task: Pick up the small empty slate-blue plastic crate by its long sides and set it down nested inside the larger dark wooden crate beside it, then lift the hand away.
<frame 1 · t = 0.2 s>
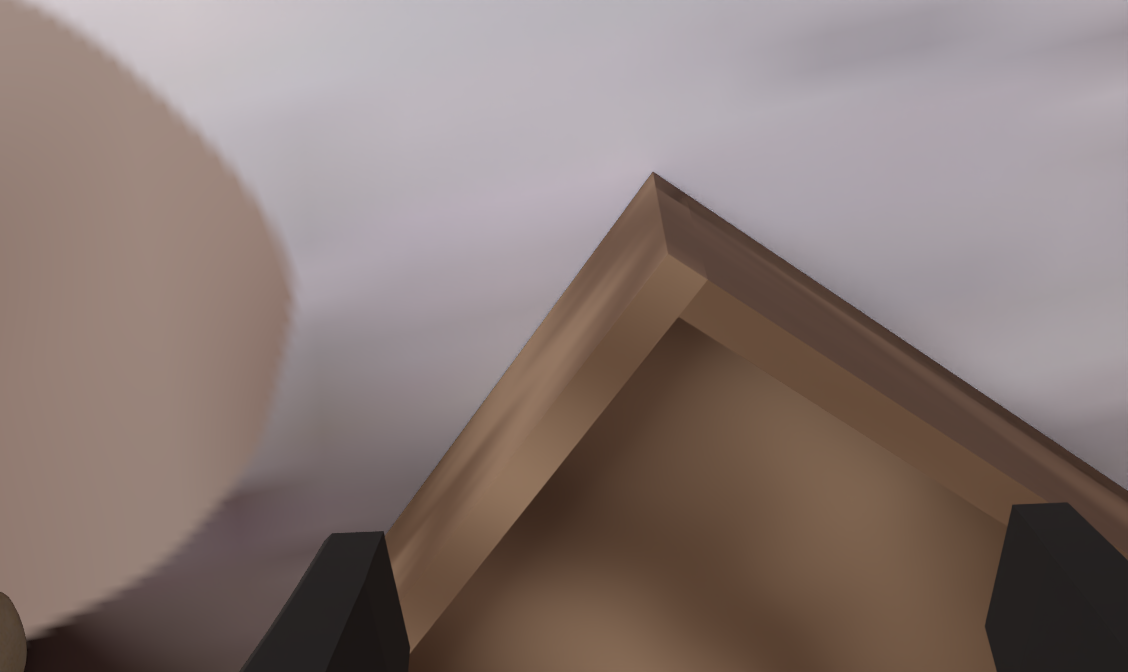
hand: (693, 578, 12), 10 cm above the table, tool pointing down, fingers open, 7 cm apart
big crate: (709, 603, 26), on the table
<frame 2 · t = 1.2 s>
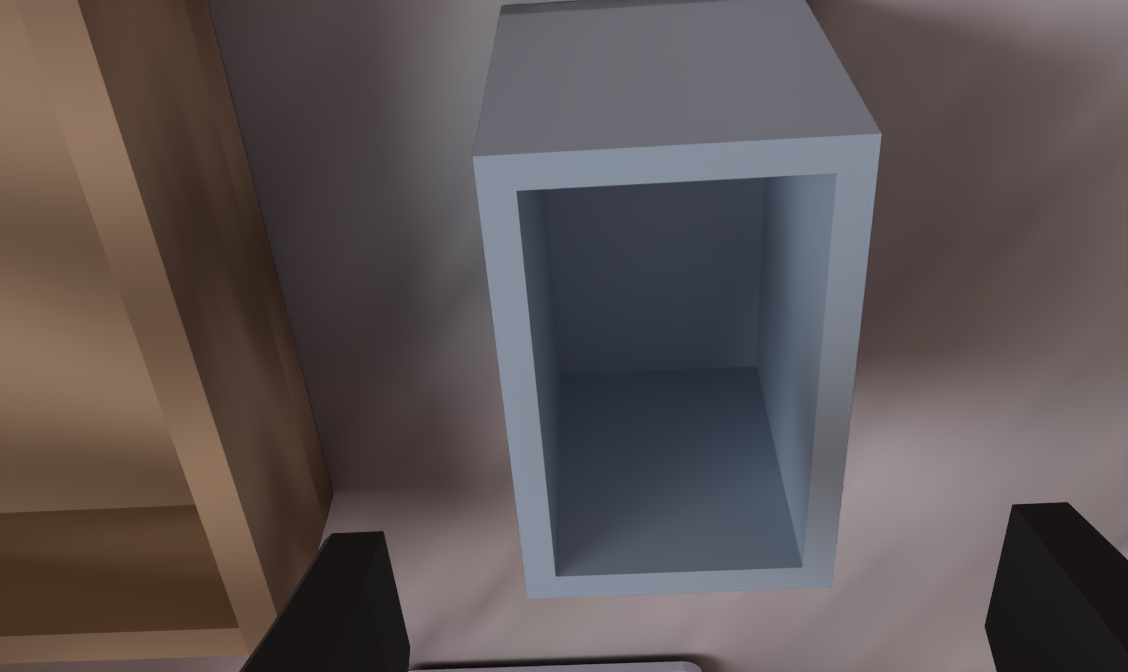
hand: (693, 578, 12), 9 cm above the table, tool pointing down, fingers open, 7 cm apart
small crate: (653, 207, 20), on the table
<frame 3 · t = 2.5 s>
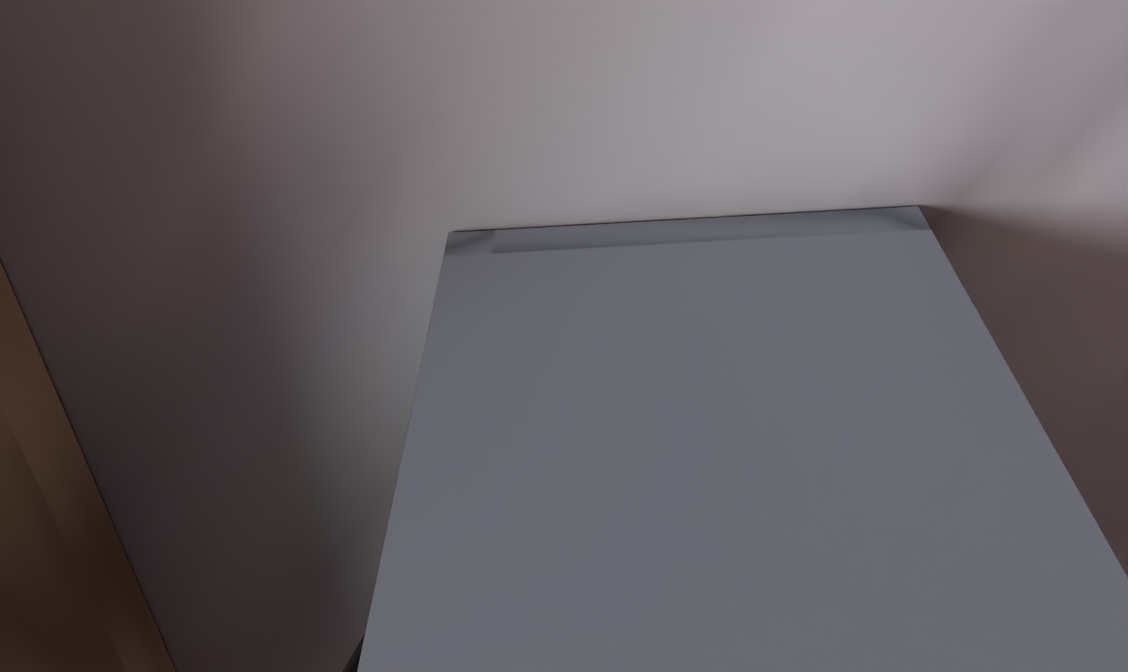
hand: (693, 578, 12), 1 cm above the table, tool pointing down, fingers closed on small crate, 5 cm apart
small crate: (683, 495, 14), on the table, touching gripper
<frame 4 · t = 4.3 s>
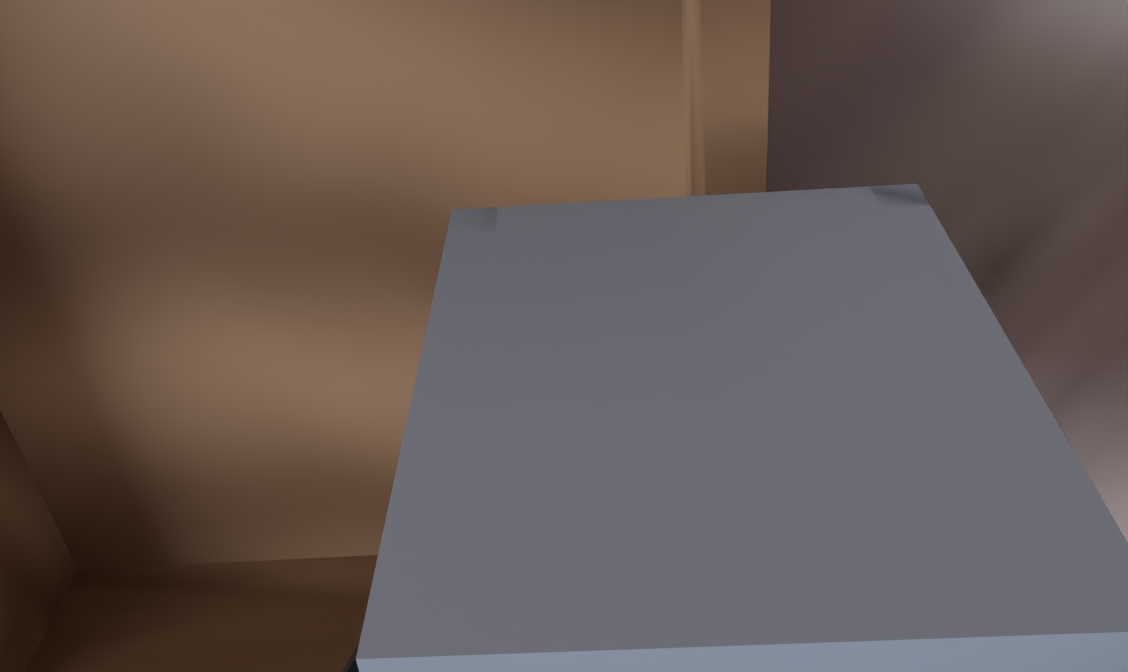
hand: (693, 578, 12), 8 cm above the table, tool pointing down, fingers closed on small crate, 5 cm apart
big crate: (318, 238, 20), on the table
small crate: (684, 475, 14), point 7 cm above the table, touching gripper
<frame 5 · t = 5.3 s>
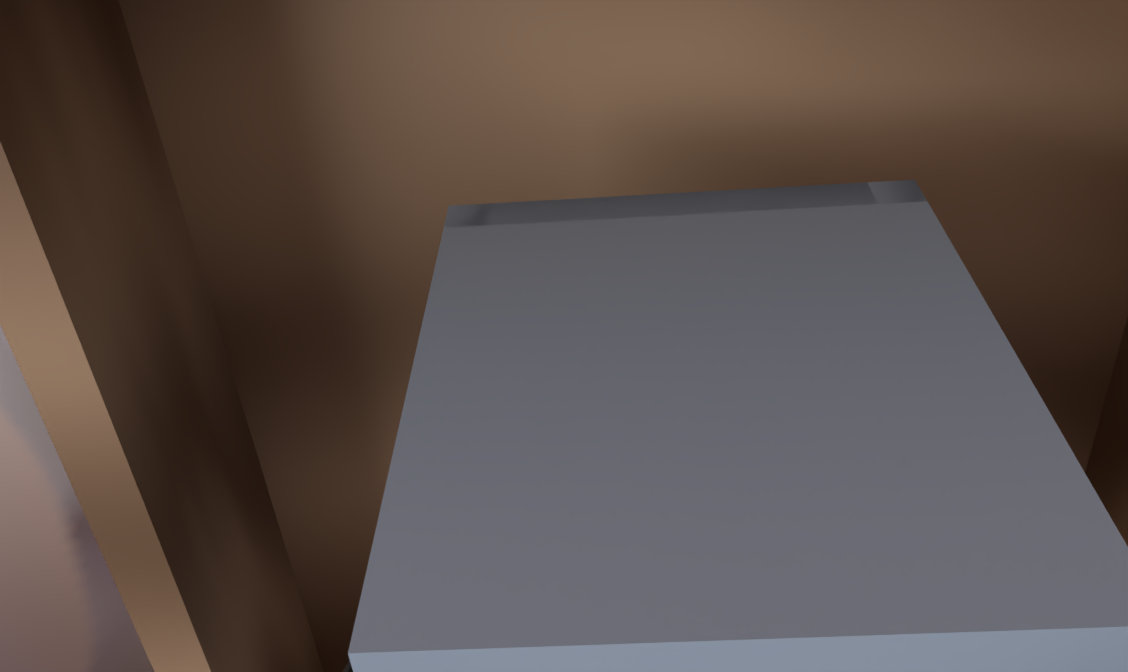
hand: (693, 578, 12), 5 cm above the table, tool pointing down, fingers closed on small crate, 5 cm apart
big crate: (664, 324, 17), on the table
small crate: (681, 472, 14), point 4 cm above the table, touching gripper
when the fingers open (3 cm above the table, at t = 6.2 s): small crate stays where it is, resting on big crate.
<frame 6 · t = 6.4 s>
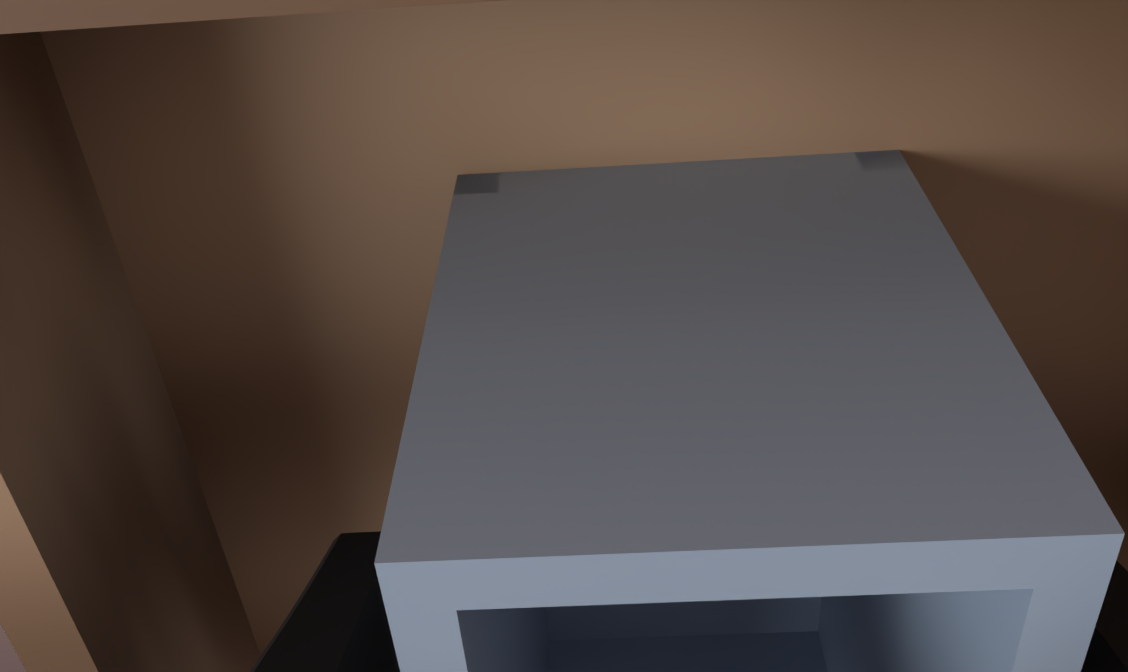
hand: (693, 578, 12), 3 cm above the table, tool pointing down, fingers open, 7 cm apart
big crate: (672, 399, 15), on the table
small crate: (678, 433, 14), point 1 cm above the table, touching big crate
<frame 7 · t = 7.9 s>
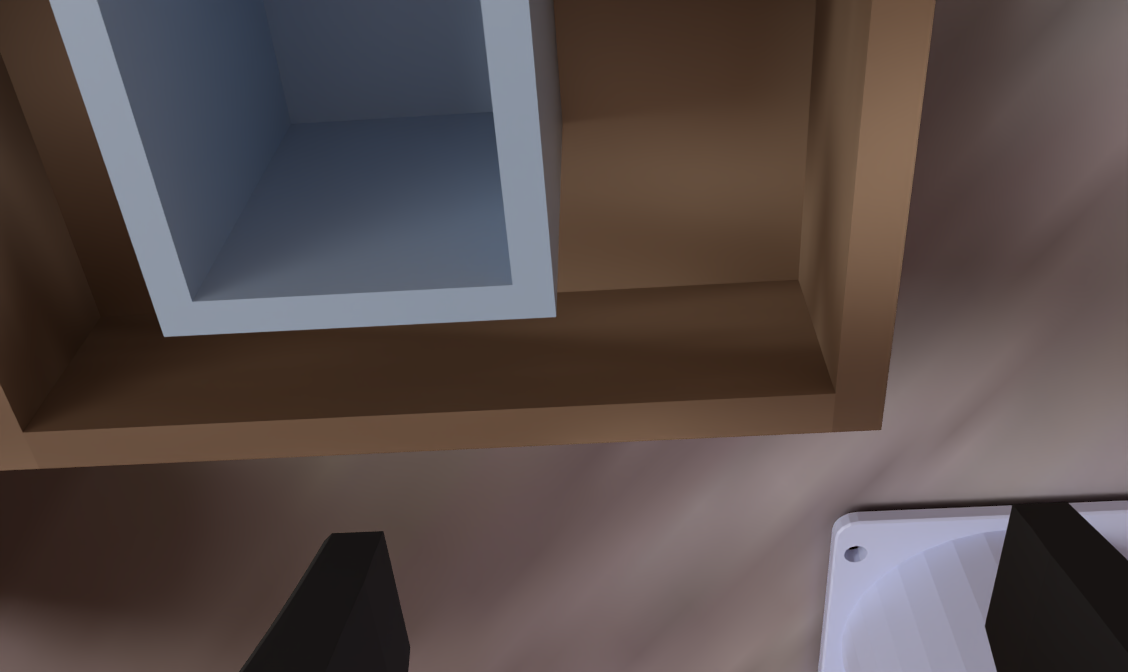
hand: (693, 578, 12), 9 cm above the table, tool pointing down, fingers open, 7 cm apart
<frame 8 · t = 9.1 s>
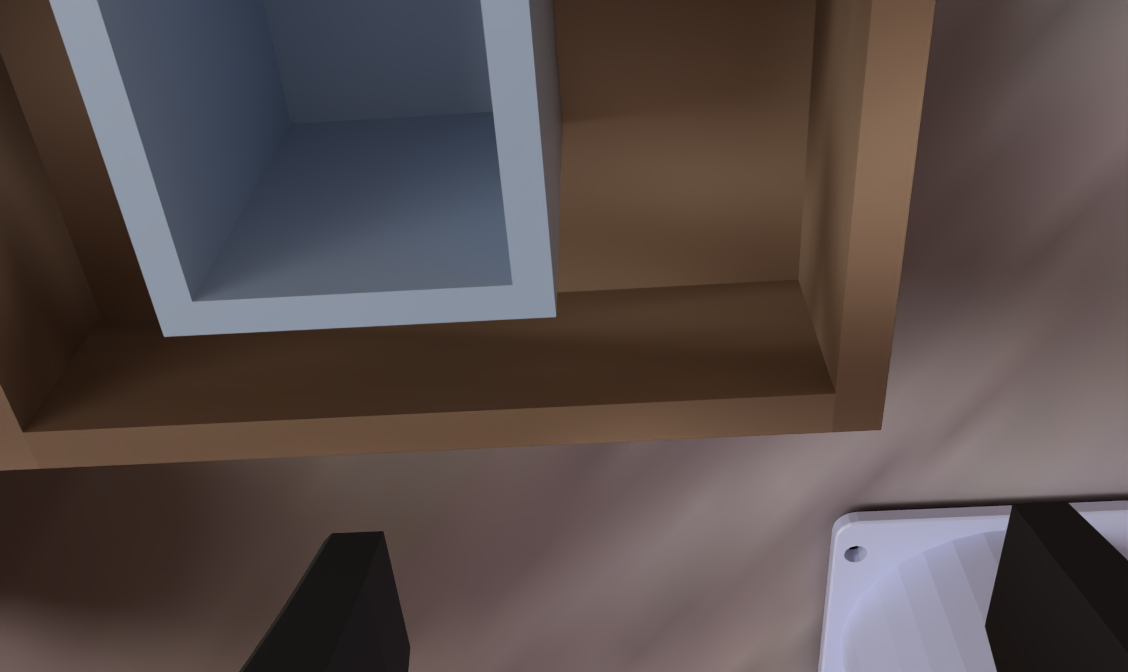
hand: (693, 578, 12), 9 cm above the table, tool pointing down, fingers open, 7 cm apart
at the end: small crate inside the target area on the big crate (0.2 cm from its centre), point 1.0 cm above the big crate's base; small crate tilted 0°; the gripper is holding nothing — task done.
